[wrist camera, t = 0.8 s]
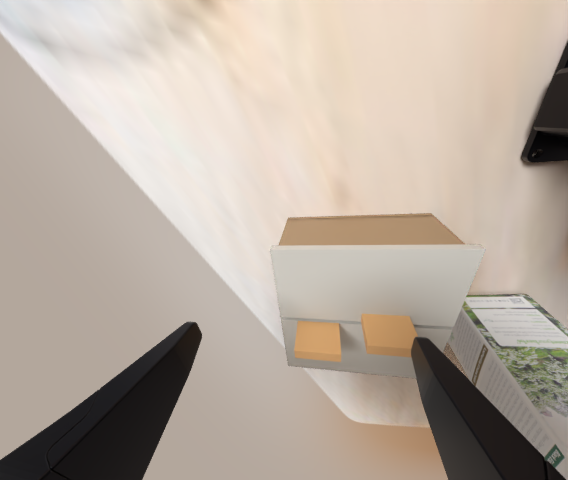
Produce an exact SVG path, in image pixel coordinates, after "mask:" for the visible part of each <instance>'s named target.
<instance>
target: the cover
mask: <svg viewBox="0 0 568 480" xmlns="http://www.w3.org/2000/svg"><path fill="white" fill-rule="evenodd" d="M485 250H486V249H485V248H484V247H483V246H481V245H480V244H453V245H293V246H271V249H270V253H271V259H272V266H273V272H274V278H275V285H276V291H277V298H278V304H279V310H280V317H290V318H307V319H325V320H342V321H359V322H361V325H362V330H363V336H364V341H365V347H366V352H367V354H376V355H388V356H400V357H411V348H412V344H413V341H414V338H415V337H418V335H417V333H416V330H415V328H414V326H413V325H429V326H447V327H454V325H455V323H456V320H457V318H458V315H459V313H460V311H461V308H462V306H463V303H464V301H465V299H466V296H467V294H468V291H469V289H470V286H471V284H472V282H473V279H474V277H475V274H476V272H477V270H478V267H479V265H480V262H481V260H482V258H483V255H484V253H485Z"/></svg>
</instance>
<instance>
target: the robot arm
mask: <svg viewBox="0 0 568 480" xmlns="http://www.w3.org/2000/svg"><path fill="white" fill-rule="evenodd" d="M536 150H537V153H536V155H534V156H533V157H532V154H533V153H534V152H535V151H536ZM522 159H523V160H524V161H528V162H548V161H563V160H568V43H567V46H566V48H565V50H564V53H563V55H562V58H561V60H560V63H559V65H558V68H557V70H556V73H555V75H554V76H553V78H552V81H551V83H550V86H549V88H548V91H547V93H546V96H545V98H544V100H543V103H542V105H541V108H540V110H539V113H538V115H537V118H536V120H535V123H534V125H533V129H532V131H531V134H530V136H529V139H528V141H527V144H526V146H525V148H524V151H523V153H522ZM201 339H202V333H201V331H200V329H199V327H198V325H197V323H196V322H186V323H185V324H183V325H182V326H181V327H179V328H178V329H177V330H175V331H174V332H173V333H172V334H170V335H169V336H168V337H166V338H165V339H164V340H162V341H161V342H160V343H159V344H157V345H156V346H155V347H153V348H152V349H151V350H150V351H148V352H147V353H146V354H144V355H143V356H142V357H140V358H139V359H138V360H136V361H135V362H134V363H133V364H131V365H130V366H129V367H127V368H126V369H125V370H124V371H122V372H121V373H120V374H118V375H117V376H116V377H114V378H113V379H112V380H111V381H109V382H108V383H107V384H105V385H104V386H103V387H101V388H100V390H97V391H96V392H95V393H94V394H92V395H91V396H90V397H88V398H87V399H86V400H84V401H83V402H82V403H80V404H79V405H78V406H76V407H75V408H74V409H72V410H71V411H70V412H68V413H67V414H66V415H64V416H63V417H61V418H60V419H58V420H57V421H56V422H54V423H53V424H52V425H50V426H49V427H47V428H46V429H44V430H43V431H41V432H40V433H38V434H37V435H36V436H34V437H33V438H31V439H30V440H28V441H27V442H26V443H24V444H23V445H21V446H20V447H18V448H17V449H16V450H14V451H13V452H11V453H10V454H8V455H7V456H5V457H4V458H2V459H1V460H0V480H142V479H143V477H144V474H145V472H146V470H147V468H148V465H149V463H150V461H151V459H152V456H153V454H154V452H155V450H156V447H157V445H158V443H159V441H160V438H161V436H162V434H163V432H164V430H165V427H166V425H167V423H168V421H169V418H170V416H171V414H172V411H173V409H174V407H175V405H176V403H177V400H178V398H179V396H180V394H181V391H182V389H183V387H184V385H185V382H186V380H187V378H188V376H189V373H190V371H191V368H192V365H193V362H194V359H195V356H196V353H197V350H198V348H199V345H200V342H201ZM411 357H412V361H413V366H414V370H415V374H416V378H417V383H418V387H419V391H420V396H421V400H422V403H423V406H424V410H425V413H426V416H427V418H428V421H429V424H430V427H431V430H432V433H433V436H434V439H435V442H436V445H437V448H438V450H439V454H440V456H441V459H442V462H443V465H444V468H445V471H446V474H447V477H448V480H566V479H565V478H564V477H563V476H562V475H561V474H560V473H559V472H558V470H557V469H556V468H555V467H554V466H553V465H552V464H551V463H550V462H549V461H547V460H545V458H544V456H543V455H542V454H541V453H540V452H539V451H538V450H537V449H536V448H535V447H534V446H533V445H532V444H531V443H530V442H529V441H528V440H527V439H526V438H525V437H524V436H523V435H522V434H521V433H520V432H519V431H518V430H517V429H516V428H515V427H514V425H513V424H512V423H511V422H510V421H509V420H508V419H507V418H506V417H505V416H504V415H503V414H502V413H501V412H500V411H499V410H498V409H497V408H496V407H495V406H494V405H493V404H492V403H491V402H490V401H489V400H488V399H487V398H486V397H485V396H484V395H483V394H482V393H481V392H480V391H479V390H478V389H477V387H476V386H475V385H474V384H473V383H472V382H471V381H470V380H469V379H468V378H467V377H466V376H465V375H464V374H463V373H462V372H461V371H460V370H459V369H458V368H457V367H456V366H455V365H454V364H453V363H452V362H451V361H450V360H449V359H448V358H447V357H446V356H445V355H444V354H443V353H442V352H441V351H440V349H439V348H438V347H437V346H436V345H435V344H434V343H433V342H432V341H431V340H430V339H428V338H426V337H415V338H414V341H413V344H412V348H411Z"/></svg>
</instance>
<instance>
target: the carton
mask: <svg viewBox="0 0 568 480" xmlns="http://www.w3.org/2000/svg"><path fill="white" fill-rule="evenodd" d="M453 244H465V243H463V242H462V241H461V240H460V239H459V238H458V237H457V236H456V235H455V234H453V233H452V232H451V231H450V230H449V229H448V228H447V227H446V226H445V225H443V224H442V223H441V222H440V221H439V220H438V219H437V218H436V217H435V216H433V215H432V214H431V213H427V214H395V215H362V216H330V217H297V218H288V220H287V223H286V225H285V228H284V231H283V234H282V237H281V240H280V243H279V246H293V245H453Z"/></svg>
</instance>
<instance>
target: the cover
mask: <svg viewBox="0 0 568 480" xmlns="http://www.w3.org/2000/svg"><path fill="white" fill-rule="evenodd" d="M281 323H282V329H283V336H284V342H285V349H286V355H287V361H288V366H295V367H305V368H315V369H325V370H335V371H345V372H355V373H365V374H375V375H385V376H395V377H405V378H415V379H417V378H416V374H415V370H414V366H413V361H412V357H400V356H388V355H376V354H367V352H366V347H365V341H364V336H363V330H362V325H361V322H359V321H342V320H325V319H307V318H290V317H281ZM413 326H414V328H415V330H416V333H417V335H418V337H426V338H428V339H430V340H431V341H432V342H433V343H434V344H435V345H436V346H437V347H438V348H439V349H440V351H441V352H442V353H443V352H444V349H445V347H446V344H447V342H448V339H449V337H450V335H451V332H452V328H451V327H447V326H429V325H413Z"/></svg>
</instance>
